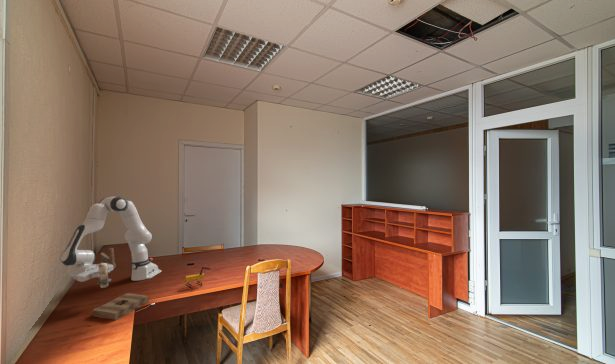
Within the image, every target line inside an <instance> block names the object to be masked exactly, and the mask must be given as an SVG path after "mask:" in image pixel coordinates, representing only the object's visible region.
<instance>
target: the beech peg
mask: <svg viewBox="0 0 615 364" xmlns="http://www.w3.org/2000/svg"><path fill="white" fill-rule="evenodd" d="M98 268H99V274H101V276H100V277H98V278H99V280H97V282H96V285H99V286H100V289H103V288H104V289H105V288H107V287H109V283H110V282H111V281H112V278H109V275H108V274H109V273H108V272H107V263H102V264H99V265H98Z"/></svg>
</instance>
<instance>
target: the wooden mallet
mask: <svg viewBox="0 0 615 364" xmlns="http://www.w3.org/2000/svg"><path fill="white" fill-rule="evenodd" d="M114 252H115V250H114V247H110V248H108V255H107V254H106V253H105V252H100V263H107V264H112V265H113V267H114V269H115V268H117V264H116V263H115V253H114Z"/></svg>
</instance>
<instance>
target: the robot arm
mask: <svg viewBox="0 0 615 364" xmlns="http://www.w3.org/2000/svg"><path fill="white" fill-rule="evenodd" d="M110 212H114V213H115V212H119V215H120V217H121V219H122V221H123V224H124V227H125V228H127V230H126V232H125V233H124V239H125V241H126V242H127V244H128V248H129V250H130V254H131V261H130V262H131V263H130V264H131V278H130V280H131V281H134V282H135V281H136V282H137V281H144V280H149V279H151V278H154V277H155V276H156V275H158V274H161V272H162V270H161V269H159V266H158V265H157V264H156V263H153V262H152V261H153V260H154V259H153V258H152V257H150V258H149V253H148V248H147V247H146V245H145V244H148V243H150V242H151V241H152V239H153V235H152V233H151V232H150V231H149V230H148V229H147V228H146V226H145V224H144V223H143V222H142V220H141V217H140V215H139V212H138V210H137V208H136V205H135V204H134V202H133V201H131V200H127V199H126V198H124V197H123V196H122V197H121V196H106V197H104V198H102V199H100V200H99V202H97V203H94V204H91V206H90V208H89V210H88V213H87V215H86V218H85V220H84V221H83V222H82V224H80V225H78V226H77V228H76V229H75V231H74V232H73V234H72V236H71V239H70V240H69V241H68V244H67V245H66V248H65V250H64V251H63V252H62V253H61V254H60V255H61V256H60V257H59V258H60V262H61V263H62V264H63V265H64V266H68V268H67V274H68V275H69V276H71V277H72V278H73V280H76V281H78V282H80V283H83V282H87V281H89V280H91V279H94V278H99V277H100V276H101V274H99V268H98V265H99V264H102V263H101V262H99V263H95V261H96V254H95V252H94V250H92V249H91V250H90V249H78V247H79V245H80V243H81V242H82V239H83V238H84V236H86V235H88V234H92V233H96V232H99V231H100V230H102V228H104V226H105V223H106V220H107V215H108V214H109V213H110ZM94 263H95V264H94ZM114 269H115V268H114V267H113V265H112V264H110V263H108V264H107V272H108V274H109V273H111V272H112V271H114Z"/></svg>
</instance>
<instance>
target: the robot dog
mask: <svg viewBox="0 0 615 364" xmlns="http://www.w3.org/2000/svg"><path fill="white" fill-rule="evenodd" d="M203 270H208V271H209V270H211V268H210V267H205V266H202V267H201V270H200V272H199V273H197V274H191V275H186V276H185V280H184V284H183V285H184V286H186V287H187V288H190V289H192V286H193V285H192V284H190V283H189V282H190V281H193V280H195V282H194V283H195V284H197V285H198V286H200V287H202V286H203V283H202V282H201V281H200V280H201V279H204V277H205V273H203Z"/></svg>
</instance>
